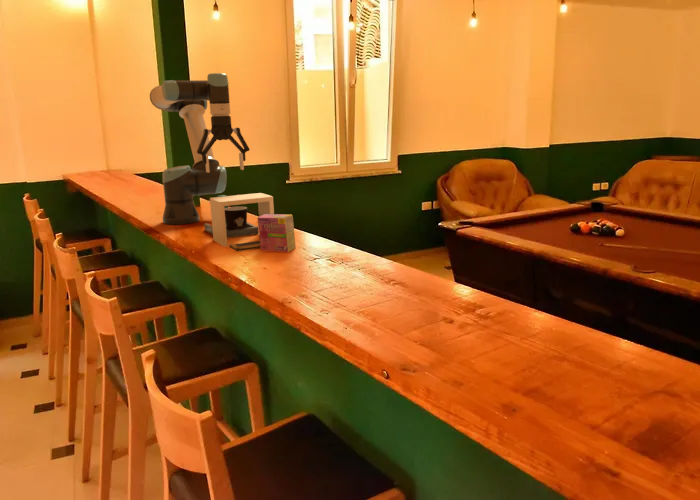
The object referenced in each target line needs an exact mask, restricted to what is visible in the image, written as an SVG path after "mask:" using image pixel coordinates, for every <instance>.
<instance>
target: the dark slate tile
mask: <svg viewBox="0 0 700 500" xmlns="http://www.w3.org/2000/svg"><path fill="white" fill-rule="evenodd" d="M228 244H229V245H228V247H229V248H231V249H233V250H234V251H235V252H241V251H242V252H243V251H247V250H255V249H261V244H260V240H257V241H256V240H255V241H248V242H247V241H246V242H241V243H233V242H230V243H228Z"/></svg>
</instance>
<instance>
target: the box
mask: <svg viewBox="0 0 700 500" xmlns="http://www.w3.org/2000/svg"><path fill="white" fill-rule="evenodd" d="M257 225H258V226H257V227H258V230H259V235H258V236H259V241H260V244H261V248H260V250H261V251H268V252H269V251H270V252H283V253H289V252H291V251H294V250H295V249H296V248H297V247H296V238H295V237H296V236H295V235H296V234H295V227H294V217H293V214H291V213H290V214H284V213H283V214H282V213H281V214H280V213H279V214H278V213H276V214H275V213H274V214H264V215H262V216H260V217H259V216H258V217H257Z"/></svg>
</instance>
